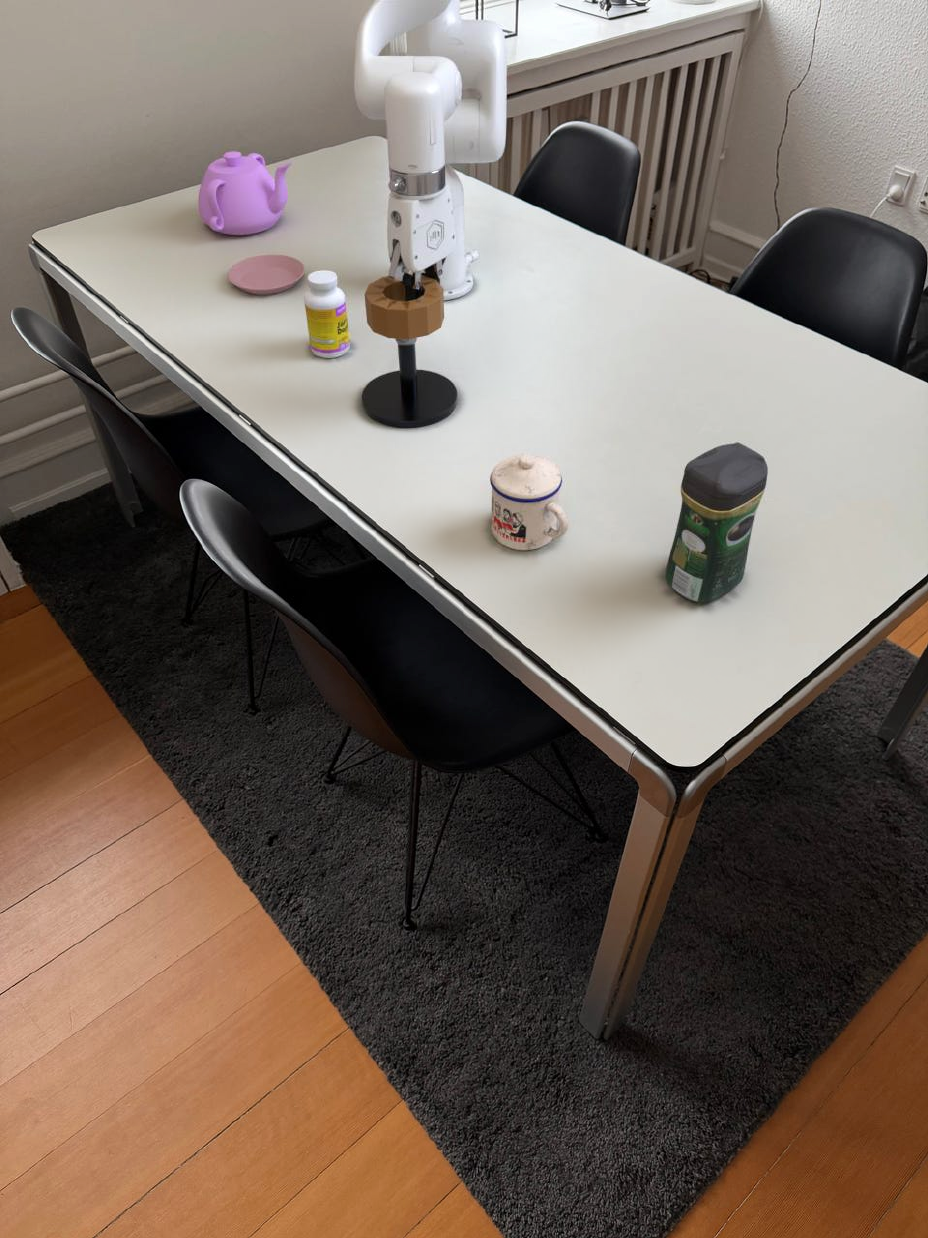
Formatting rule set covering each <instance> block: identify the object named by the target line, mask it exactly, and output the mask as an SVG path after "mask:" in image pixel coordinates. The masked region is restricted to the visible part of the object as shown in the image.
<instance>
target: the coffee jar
mask: <svg viewBox="0 0 928 1238" xmlns="http://www.w3.org/2000/svg"><path fill="white" fill-rule="evenodd" d="M768 469H769V467H768V464H767V462H766V459H765V457H764V456H762V455H761V454H760V453H759V452H757V451H756V450H754V449H752V448H750V447H749V446H746V445H745V444H743V443H741V442H738V441H735V442H734V443H726V444H721V445H718V446H716V447H715V446H714V447H712V448H711V449H709V450H707V451H705V452H703V453H701V454H699V455H698V456H696V457H695V458H693V459H692V460H690V461H688V462H687V464H686V465H685V468H684V470H683V476H682V480H681V484H680V495H681V507H680V511H679V515H678V521H677V524H676V528H675V533H674V537H673V541H672V545H671V547H670V552H669V555H668V559H667V564H666V568H665V573H664V579H665V582H666V583H667V585H668V586H669V587H670V588H671V589H672V590H673V591H674V592H675V593H676V594H678V595H679V596H680V597H682V598H684V599H686V600H688V601H691V602H694V603H700V604H708V603H710V602H713V601H715V600H718V599H719V598H721V597H723V596H724V595H727V593H729V592H731V591H732V590H733V589H735V588H736V587H737V586H738V585H739V584H740V583H741V582H742V581H743V579H744V575H745V571H746V566H747V560H748V554H749V547H750V542H751V537H752V532H753V526H754V522H755V517H756V514H757V511H758V509H759V505H760V502H761V500H762V498H763V495H764V493H765V490H766V487H767V480H768V473H769V470H768Z"/></svg>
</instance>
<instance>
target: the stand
mask: <svg viewBox="0 0 928 1238" xmlns="http://www.w3.org/2000/svg"><path fill="white" fill-rule="evenodd" d="M417 339H418V338H413V339H395V342H396V344H397V355H398V368H399V370H394V371H390V372H387V373H384V374H381V375H379V376H377V377H374V378H373V379H372V380H370V382H368V383H367V384H366V385H365V387H364V388H363V389H362V392H361V397H360V398H361V406H362V409H363V411H364V413H365V414H366V415H367V416H368V417H369V418H370V419H371V420H373V421H375V422H376V423H378V424H381V425H384V426H387V427H392V428H400V429H416V428H424V427H428V426H431V425H434V424H437V423H439V422H441V421H443V420H445V419H446V418H448V417H449V416H450V415H451V414H452V413H453V412H454V411H455V409H456V408H457V405H458V400H459V399H458V390H457V387H456V385H455V384H454V383H453V381H451V380H450V379H449V378H448V377H446V376H444V375H443V374H440V373H437V372H434V371H430V370H426V369H417V353H416V342H417Z"/></svg>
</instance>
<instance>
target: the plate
mask: <svg viewBox="0 0 928 1238" xmlns="http://www.w3.org/2000/svg"><path fill="white" fill-rule="evenodd" d="M227 271H228V272H227V279H228V281H229V282H230V283H231V284H232V285H234V286H236V287H237V288H239V289H240V290H242V291H243V292H245V293H249V294H252V295H259V296H260V295H264V296H265V295H275V294H279V293H282V292H285V291H287V290H289V289H291V288H293V286H295V284H297V282H298V281H299V280H300V279H301V278H302V277H303V276H304V274H305V271H306V268H305V265H304V263H303V262H302V261H301V260H299V259H297V258H295V257H292V256H289V255H283V254H261V255H255V256H251V257H248V258H245V259H242V260H240V261H238V262H236V263H235V264H233V265H232V266H231V267H230V268H229V270H227Z"/></svg>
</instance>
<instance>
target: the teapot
mask: <svg viewBox="0 0 928 1238" xmlns="http://www.w3.org/2000/svg"><path fill="white" fill-rule="evenodd" d="M290 166H292V163H285V164H282V165H279V166H278V167H277V168H276V170H275V173H274V178H273V176H272V174H270V172H269V171H268V170H267V168H266V161H265V158H264V157H263V156H262V155H261V154H260V153H255V152H251V153H249V154H247V156H244V155H242V153H241V152H240V151H235V150H234V151H233V150H232V151H227V152H225V153H224V154H223V157H221V158H219V159H216V160H214V161H212V162H211V163H210V164H209V165H208V166H207V169H206V171H205V172H204V175H203V177H202V178H203V179H202V181H201V184H200V187H199V192H198V201H197V202H198V213H199V217H200V219H201V220H202V221H203V222H204V224H206V225H207V226H208V227H209V228H210V229H211V230H213V231H214V232H217V233H220V234H224V235H230V236H245V235H254V234H257V233H260V232H263V231H266V230H269V229H270V228H272V227H273V226H275V225H276V224H277V223H278V221H279V220H280V218H281V216H282V214H283V212H284V209H285V207H286V205H287V203H288V199H289V191H288V185H287V180H286V173H287V171H288V169H289V168H290Z"/></svg>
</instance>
